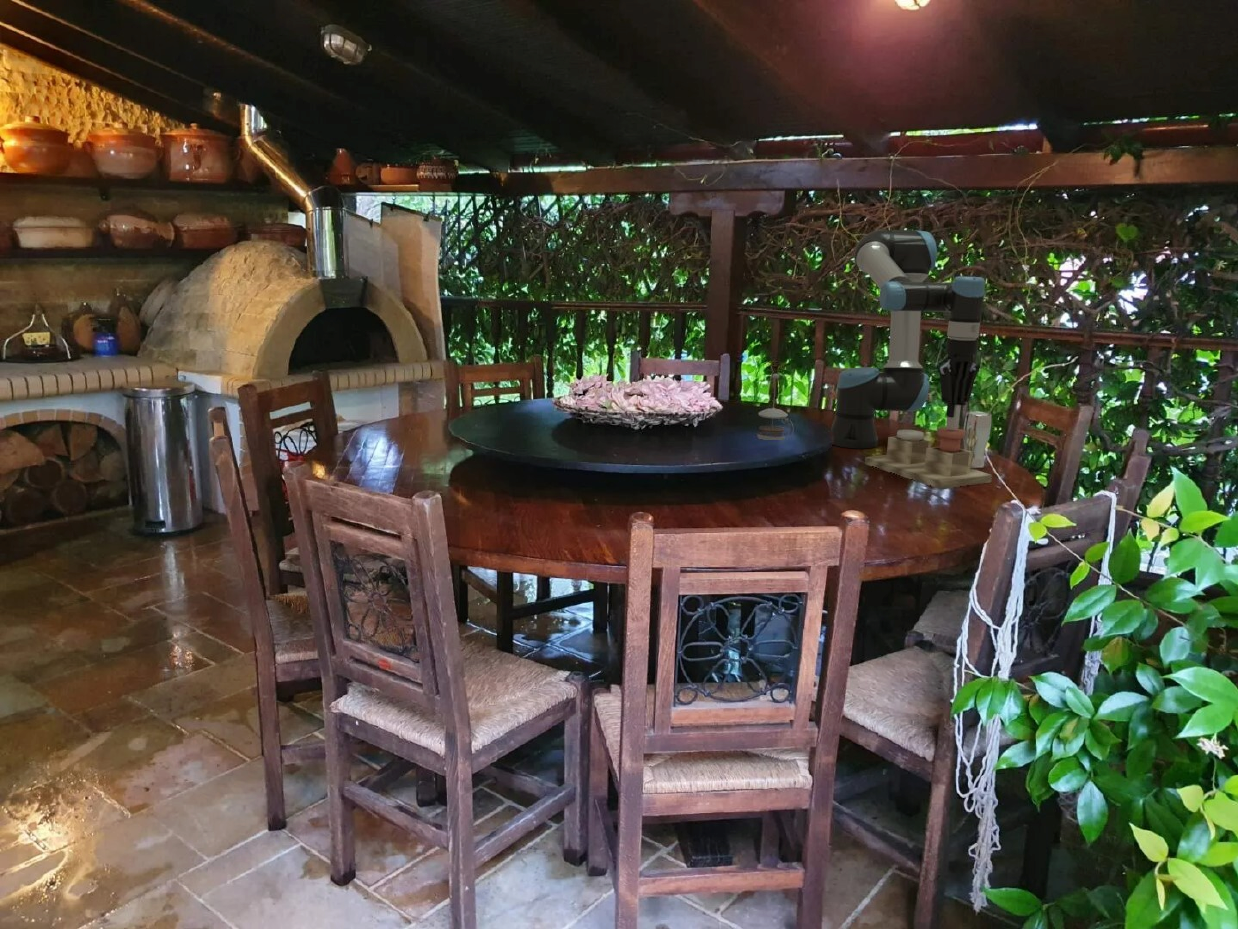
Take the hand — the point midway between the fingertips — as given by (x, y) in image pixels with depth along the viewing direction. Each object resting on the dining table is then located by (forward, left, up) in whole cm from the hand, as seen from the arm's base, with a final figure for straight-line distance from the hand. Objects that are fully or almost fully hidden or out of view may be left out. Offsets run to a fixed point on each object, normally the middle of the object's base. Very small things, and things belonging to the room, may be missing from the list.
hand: (951, 429), depth 230 cm
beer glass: (-8, +19, -14) cm, 25 cm away
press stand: (-7, 0, -14) cm, 15 cm away
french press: (-33, -32, -14) cm, 48 cm away
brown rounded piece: (0, 0, -7) cm, 7 cm away
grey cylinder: (-14, 0, -11) cm, 18 cm away
